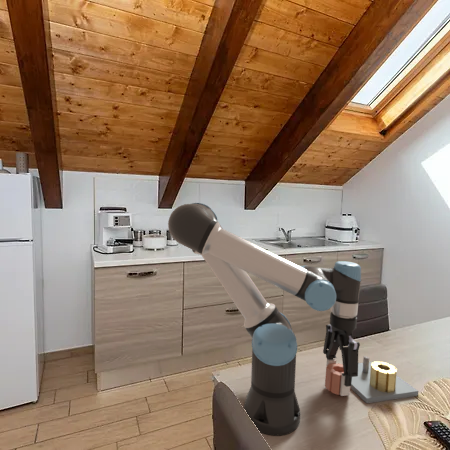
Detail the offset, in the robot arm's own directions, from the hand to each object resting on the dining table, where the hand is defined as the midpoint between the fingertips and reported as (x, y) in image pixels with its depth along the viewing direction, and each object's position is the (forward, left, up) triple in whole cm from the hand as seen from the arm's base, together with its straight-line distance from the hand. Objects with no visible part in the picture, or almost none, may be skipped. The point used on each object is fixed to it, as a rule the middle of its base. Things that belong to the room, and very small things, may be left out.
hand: (337, 386), depth 97 cm
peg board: (+15, +3, -2) cm, 15 cm away
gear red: (0, 0, 0) cm, 0 cm away
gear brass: (+15, -2, 0) cm, 15 cm away
